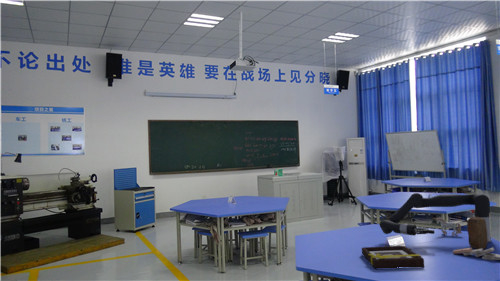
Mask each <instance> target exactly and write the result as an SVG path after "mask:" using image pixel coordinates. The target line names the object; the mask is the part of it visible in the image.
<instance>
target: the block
mask: <svg viewBox="0 0 500 281" xmlns="http://www.w3.org/2000/svg"><path fill="white" fill-rule="evenodd" d="M466 226H467V228H466V229H467V235H468V244H469V246H470V248H473V249H475V250H476V249H483V250H486V249H487V245H488V243H489V242H487V241H488V240H487V228H486V221H485V219H483V218H480V217H474V216H472V217H470V218H468V220H467V223H466Z"/></svg>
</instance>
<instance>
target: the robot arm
mask: <svg viewBox="0 0 500 281" xmlns="http://www.w3.org/2000/svg"><path fill="white" fill-rule="evenodd" d="M464 205H465V206H467V205H469V206H474V211H473V217H480V218H483V219H485V221H486V228H487V240H488V241H487V242H488V243H490V242H492V233H491V220H490V219H491V218H490V215H491V201H490V198H489V197H488V196H487V195H485V194H484V193H481V192H478V193H477V192H476V193H469V194H453V193H448V194H447V193H446V194H445V193H443V194H438V195H435V196H432V197H424V196H423V195H422V194H421V193H419V192H414V193H412V194H410V197H409V198H408V199H407V200H406V201H405V203H403V204H402V205H401V206H400V207H399V208H398V209H397V210H396V211H395V212H394V213H392V214H391V215H390V216H389V218H388V219H387V220H386V219H384V220H381V221H380V222H379V227H380V229H381V230H382V233H383V234H385V235H390V234H392V232H393V233H394V234H402V235H406V236H407V235H408V236H414V237H415V236H417V235H427V234H430V235H434V234H435V233H436V232H435V230H434V229H430V228H427V227H425V226H423V227H421V226H418V227H417V225H416V224H413V223H400V222H401V221H402V220H403V219H404V218H406V216H408V213H409V212H410V211H411V210H413V209H422V208H423V209H424V208H452V207H453V208H456V207H460V206H464Z"/></svg>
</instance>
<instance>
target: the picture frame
mask: <svg viewBox="0 0 500 281" xmlns="http://www.w3.org/2000/svg"><path fill="white" fill-rule="evenodd" d="M362 254H363V255H364V256H365V257H366V258H367V260H368V261H369V262H370V263H371V264H372V265H373V266H374V267H375V268H396V269H400V268H399V267H422V268H425V260H424V258H423V257H422V255H420V254H418V253H416V252H414V250H413V251H412V250H411V249H410V248H409V247H407V246H405V245H391V246H370V247H369V246H367V247H366V246H365V247H361V255H362ZM363 255H362V256H363ZM367 260H366V261H367ZM368 261H367V262H368ZM369 262H368V263H369ZM370 263H369V264H370ZM371 264H370V265H371ZM372 265H371V266H372ZM373 266H372V267H373ZM374 267H373V268H374ZM397 267H398V268H397ZM375 268H374V269H375Z"/></svg>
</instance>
